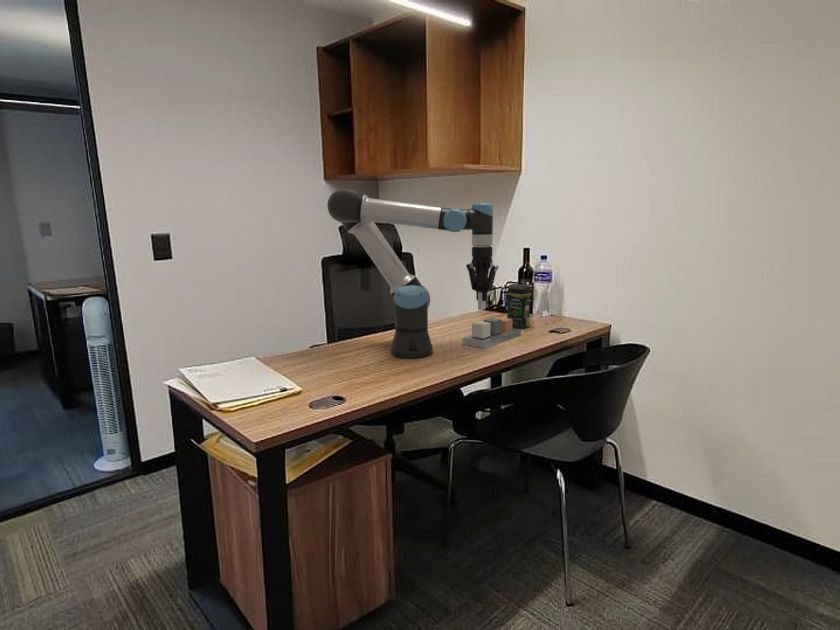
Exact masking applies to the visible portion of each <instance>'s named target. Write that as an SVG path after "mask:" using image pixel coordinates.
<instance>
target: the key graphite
mask: <svg viewBox="0 0 840 630" xmlns="http://www.w3.org/2000/svg"><path fill="white" fill-rule="evenodd" d="M483 322H488V323H490V334H497V333H500V332H502V319H499V318H494V317H489V318H486V319H483Z"/></svg>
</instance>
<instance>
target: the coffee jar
mask: <svg viewBox="0 0 840 630" xmlns="http://www.w3.org/2000/svg"><path fill="white" fill-rule="evenodd" d="M531 296H532V290H531V286H530V285H527V284H520V283H512V284H509V285H508V287H507V297H508V307H507V308H508V309H507V315H506V318H508V319H513V322H512V328H516V329H527V328H529V327H530V326H531V319H530V317H531V316H530V298H531Z"/></svg>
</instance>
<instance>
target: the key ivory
mask: <svg viewBox="0 0 840 630" xmlns="http://www.w3.org/2000/svg"><path fill="white" fill-rule="evenodd" d="M471 335H472V336H473V337H478V338H485V337H488V336H490V323H488V322H484V321H481V320H479V321H476V322H473V323H471Z"/></svg>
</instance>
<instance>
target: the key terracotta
mask: <svg viewBox="0 0 840 630" xmlns="http://www.w3.org/2000/svg"><path fill="white" fill-rule="evenodd" d="M498 319H502V332H508V331H511V330H512V328H513V327H512V322H513V319H508V318H507V317H499V318H498Z"/></svg>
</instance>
